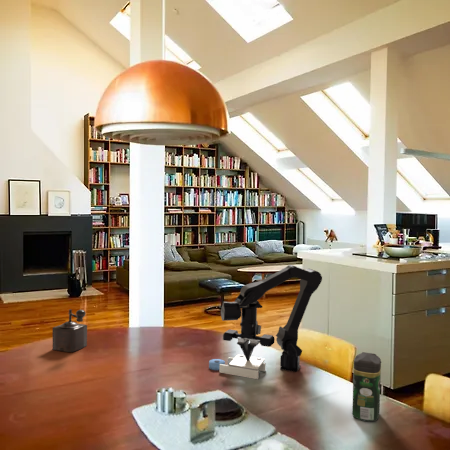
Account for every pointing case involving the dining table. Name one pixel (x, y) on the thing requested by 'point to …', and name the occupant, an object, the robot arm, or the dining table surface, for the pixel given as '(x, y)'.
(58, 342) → the manual coffee grinder
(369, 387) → the coffee jar
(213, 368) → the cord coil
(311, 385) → the dining table surface
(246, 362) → the cover
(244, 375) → the white channel bracket
